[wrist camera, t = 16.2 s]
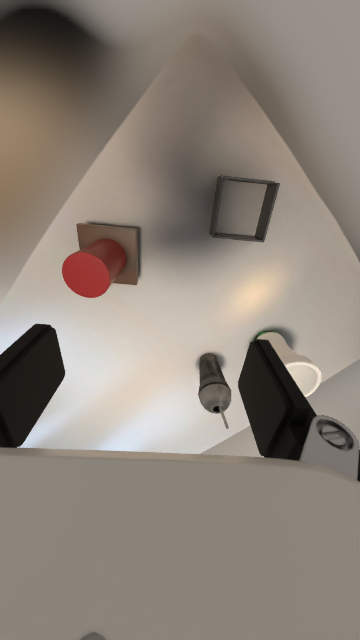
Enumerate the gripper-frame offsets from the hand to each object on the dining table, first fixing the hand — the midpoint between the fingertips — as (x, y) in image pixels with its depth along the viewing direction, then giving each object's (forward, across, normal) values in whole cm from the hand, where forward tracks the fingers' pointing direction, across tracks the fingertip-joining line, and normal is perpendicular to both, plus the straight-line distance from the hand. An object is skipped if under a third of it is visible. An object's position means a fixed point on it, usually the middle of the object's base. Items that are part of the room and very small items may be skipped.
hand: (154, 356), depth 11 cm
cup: (+36, -26, +23) cm, 50 cm away
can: (+31, +11, +4) cm, 33 cm away
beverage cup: (+36, -12, +30) cm, 49 cm away
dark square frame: (+36, -12, -6) cm, 39 cm away
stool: (+36, +11, +4) cm, 38 cm away
